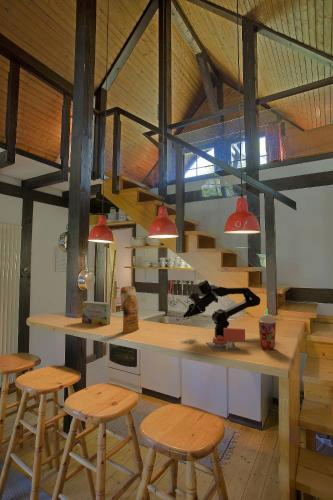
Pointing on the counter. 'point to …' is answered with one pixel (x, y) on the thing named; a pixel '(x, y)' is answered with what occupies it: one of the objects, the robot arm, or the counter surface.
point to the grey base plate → (223, 346)
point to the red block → (230, 335)
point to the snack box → (96, 313)
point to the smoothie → (267, 331)
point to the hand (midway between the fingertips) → (185, 316)
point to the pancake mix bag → (129, 309)
